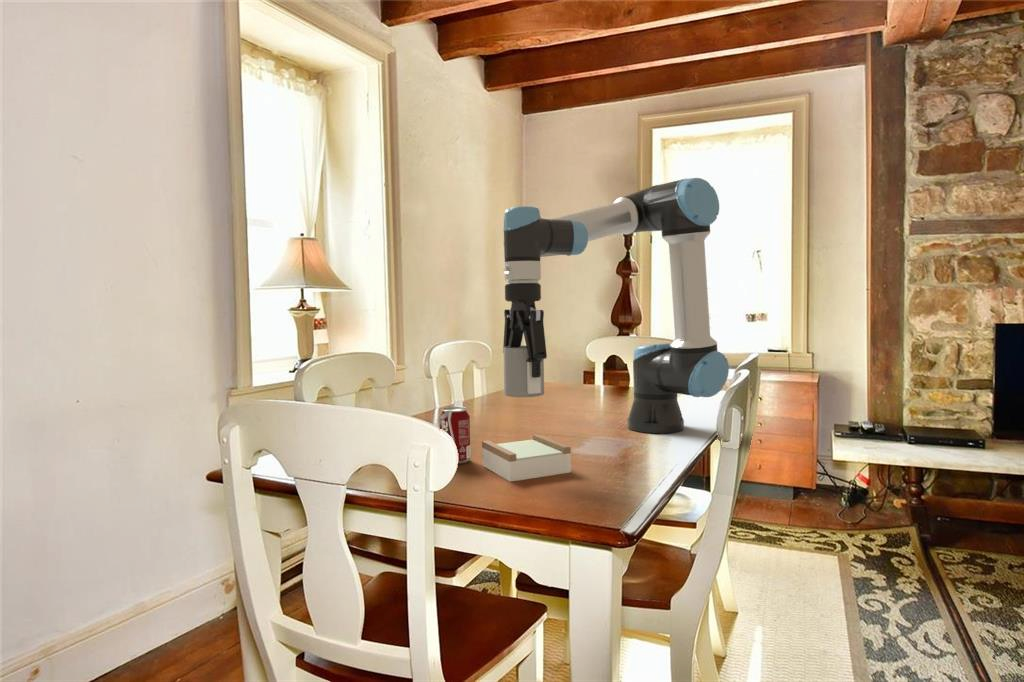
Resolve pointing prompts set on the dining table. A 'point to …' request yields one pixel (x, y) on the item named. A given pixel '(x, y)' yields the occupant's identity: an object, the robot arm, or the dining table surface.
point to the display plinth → (527, 458)
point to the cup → (518, 372)
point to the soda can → (457, 429)
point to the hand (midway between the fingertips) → (524, 390)
